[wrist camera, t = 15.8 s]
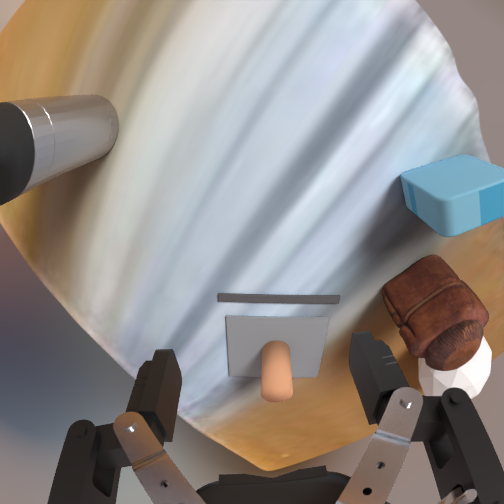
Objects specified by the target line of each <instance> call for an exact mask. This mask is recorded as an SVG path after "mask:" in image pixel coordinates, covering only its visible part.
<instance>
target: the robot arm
mask: <svg viewBox="0 0 504 504" xmlns="http://www.w3.org/2000/svg"><path fill="white" fill-rule="evenodd" d="M117 134H118V117H117V114H116V111H115V109H114V107H113V106H112V104H111V103H110V102H109V101H108V100H106V99H105V98H103V97H101V96H97V95H73V96H56V97H43V98H33V99H24V100H16V101H9V102H2V103H0V205H3V204H5V203H7V202H9V201H11V200H13V199H14V198H16V197H18V196H20V195H22V194H24V193H26V192H28V191H30V190H31V189H33V188H35V187H37V186H39V185H41V184H43V183H45V182H47V181H49V180H51V179H54V178H56V177H58V176H60V175H62V174H64V173H67V172H69V171H71V170H73V169H75V168H78V167H80V166H82V165H85V164H87V163H90V162H92V161H94V160H97V159H99V158H101V157H103V156H104V155H106V154H107V153H108V152H109V151H110V149H111V148H112V146H113V145H114V143H115V141H116V138H117ZM349 367H350V371H351V374H352V376H353V379H354V382H355V385H356V388H357V390H358V393H359V396H360V399H361V402H362V405H363V408H364V411H365V414H366V417H367V419H368V422H369V425H371V424H376V423H377V425H378V428H377V430H376V432H375V433H374V435H373V437H372V439H371V441H370V443H369V445H368V447H367V449H366V451H365V453H364V455H363V457H362V459H361V461H360V462H359V464H358V466H357V468H356V470H355V472H354V473H353V475H352V477H349V476H346V475H344V474H341V473H337V472H329V471H327V470H326V466H319V467H313V468H306V469H299V470H296V471H294V472H290V473H287V474H284V475H281V476H278V477H275V478H267V477H261V476H254V475H248V474H232V475H231V474H230V475H229V474H228V475H219V481H215V482H212V483H209V484H207V485H205V486H203V487H201V488H200V489H198V490H197V491H195V490H194V488H193V487H192V486H191V485H190V484H189V482H188V481H187V480H186V478H185V477H184V476H183V475H182V473H181V472H180V470H179V469H178V468H177V466H176V465H175V464H174V463H173V461H172V459H171V458H170V457H169V455H168V454H167V452H166V451H165V450H164V449H163V445H164V442H165V441H166V442H172V439H173V433H174V427H175V420H176V415H177V409H178V403H179V397H180V391H181V386H182V376H181V371H180V368H179V365H178V362H177V360H176V357H175V354H174V351H173V350H172V349H160V350H156V351H155V353H154V356H153V360H152V361H145V363H144V364H143V365H142V366H141V367H140V368H139V371H138V374H137V379H136V381H135V384H134V385H135V386H134V387H133V390H132V394H131V397H130V400H129V403H128V406H127V409H126V412H125V413H123V414H121V415H119V416H118V417H117V418H116V420H115V422H114V423H111V424H106V425H101V426H94V424H93V423H92V422H91V421H88V420H79V421H76V422H75V423H73V424H72V425H71V426H70V428H69V430H68V433H67V436H66V439H65V442H64V445H63V449H62V452H61V455H60V459H59V462H58V466H57V469H56V473H55V476H54V480H53V484H52V488H51V492H50V496H49V500H48V504H116V497H117V490H118V483H119V477H120V471H121V467H127V466H132V469H133V471H134V472H135V474H136V476H137V478H138V479H139V481H140V483H141V484H142V486H143V487H144V489H145V491H146V492H147V494H148V495H149V497H150V498H151V500H152V501H153V503H154V504H390V503H388V502H387V501H386V500H387V498H388V496H389V494H390V491H391V490H392V487H393V485H394V483H395V481H396V478H397V476H398V474H399V472H400V469H401V467H402V465H403V462H404V460H405V457H406V455H407V452H408V450H409V447H410V444H411V442H412V441H413V442H415V441H423V443H424V446H425V449H426V452H427V455H428V458H429V461H430V464H431V467H432V471H433V474H434V477H435V480H436V484H437V487H438V491H439V494H440V498H441V501H440V502H439V503H438V504H504V471H503V469H502V466H501V463H500V461H499V459H498V456H497V454H496V452H495V449H494V447H493V445H492V443H491V440H490V438H489V436H488V434H487V432H486V430H485V427H484V425H483V423H482V421H481V419H480V417H479V415H478V413H477V411H476V409H475V407H474V405H473V403H472V401H471V399H470V397H469V395H468V394H467V393H466V392H465V391H464V390H463V389H460V388H456V387H452V388H448V389H447V390H445V391H444V392H443V394H442V396H423V395H421V394H420V392H419V391H417V390H416V389H413V388H410V386H409V385H408V383H407V381H406V379H405V377H404V375H403V373H402V371H401V369H400V367H399V365H398V363H397V361H396V359H395V357H394V356H393V353H392V351H391V350H390V348H389V346H388V345H386V344H385V343H384V342H383V341H382V340H377V341H375V340H374V338H373V336H372V334H371V333H370V331H364V332H358V333H353V334H352V339H351V346H350V353H349Z"/></svg>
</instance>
